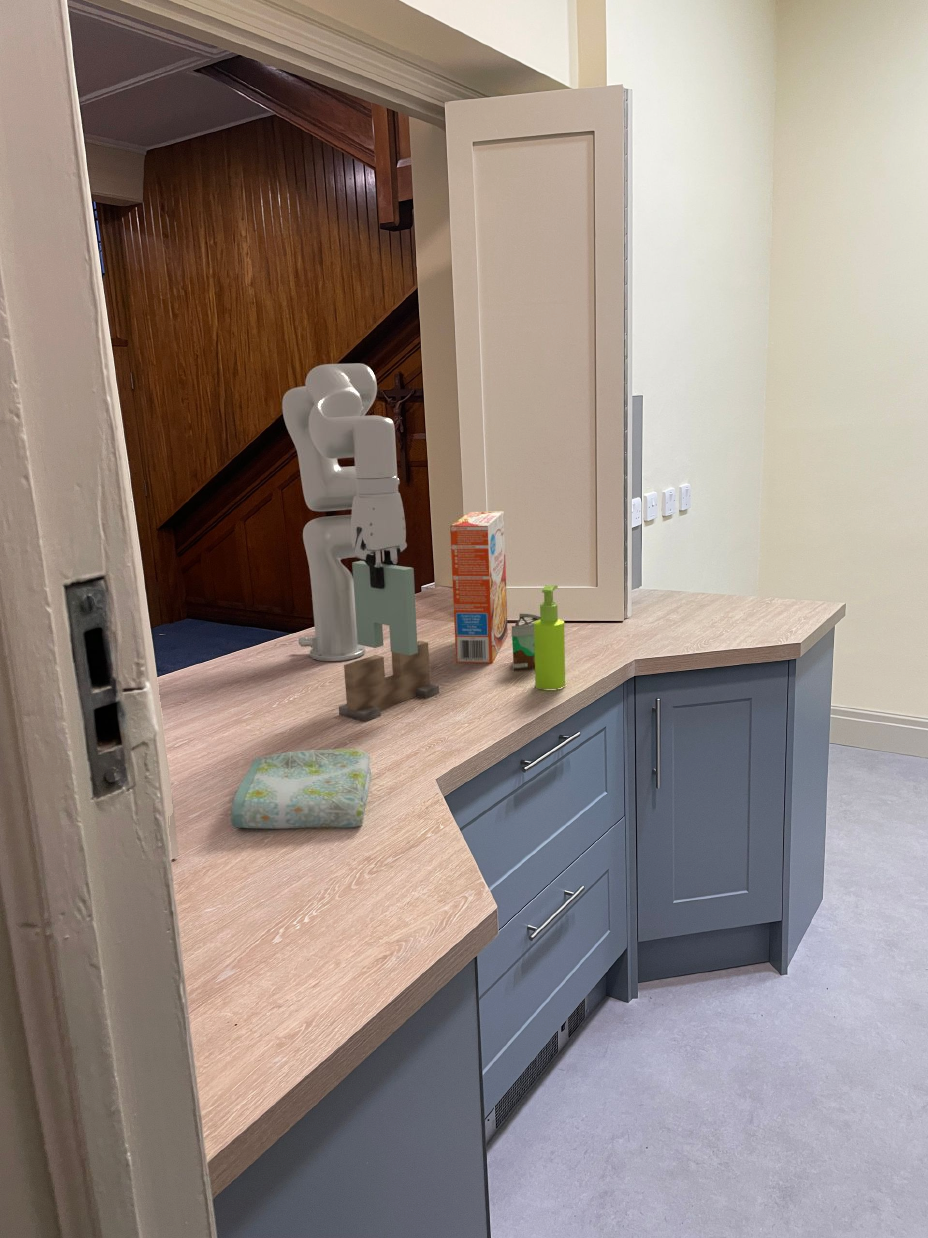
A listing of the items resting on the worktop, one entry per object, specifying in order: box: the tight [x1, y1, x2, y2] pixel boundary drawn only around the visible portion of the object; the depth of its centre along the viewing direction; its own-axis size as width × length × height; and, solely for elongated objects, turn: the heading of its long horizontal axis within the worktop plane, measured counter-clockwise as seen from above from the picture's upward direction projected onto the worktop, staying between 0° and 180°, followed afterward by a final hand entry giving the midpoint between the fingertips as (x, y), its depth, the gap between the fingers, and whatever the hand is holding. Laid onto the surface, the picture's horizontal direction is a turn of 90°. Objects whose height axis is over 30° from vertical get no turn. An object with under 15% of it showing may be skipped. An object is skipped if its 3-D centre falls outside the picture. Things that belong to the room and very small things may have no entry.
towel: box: [230, 748, 372, 830], centre depth 138 cm, size 18×21×5 cm
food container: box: [511, 612, 540, 672], centre depth 201 cm, size 12×6×10 cm, turn 168°
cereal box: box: [449, 511, 509, 664], centre depth 212 cm, size 23×8×30 cm, turn 169°
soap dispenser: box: [534, 584, 566, 690], centre depth 185 cm, size 6×7×20 cm
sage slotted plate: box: [351, 560, 418, 656], centre depth 176 cm, size 2×14×16 cm, turn 49°
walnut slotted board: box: [338, 640, 440, 723], centre depth 179 cm, size 20×7×10 cm, turn 139°
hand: (383, 585), depth 175 cm, fingers closed on sage slotted plate, 2 cm apart
